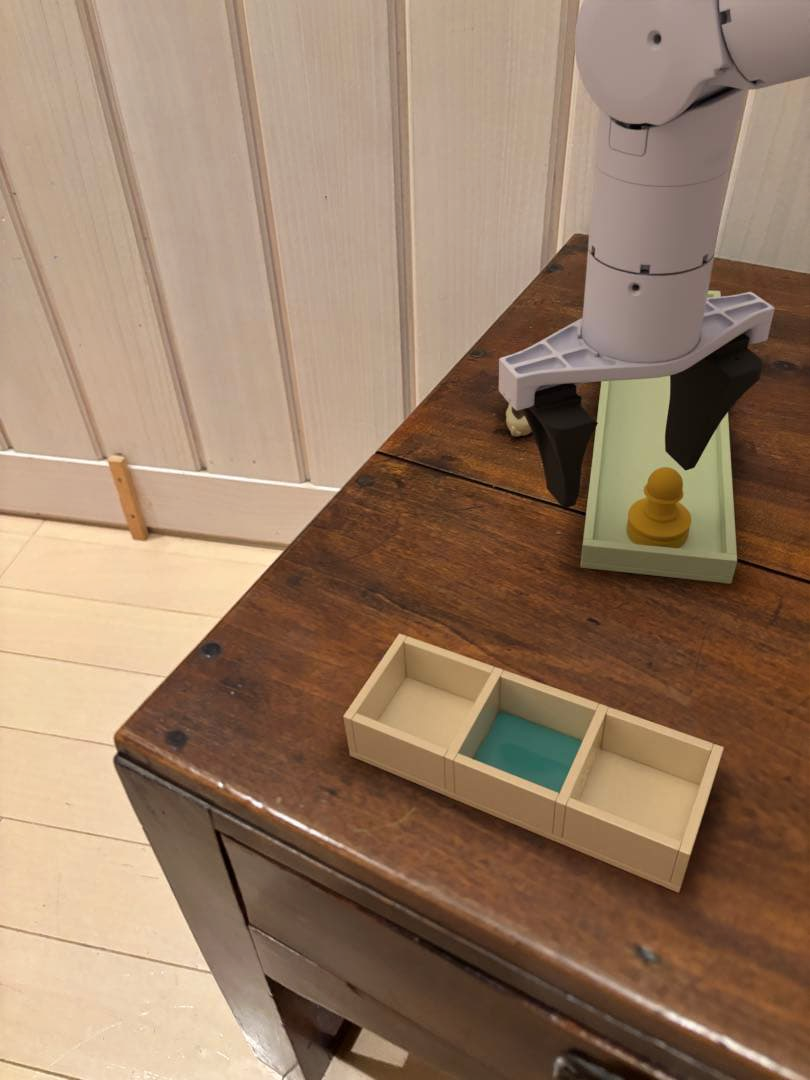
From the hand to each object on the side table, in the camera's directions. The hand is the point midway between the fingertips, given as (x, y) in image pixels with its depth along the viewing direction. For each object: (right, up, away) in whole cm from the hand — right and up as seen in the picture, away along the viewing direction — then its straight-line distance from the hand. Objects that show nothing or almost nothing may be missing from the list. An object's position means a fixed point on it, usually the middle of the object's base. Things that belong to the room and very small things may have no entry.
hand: (621, 477), depth 52 cm
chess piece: (+4, -3, +8) cm, 10 cm away
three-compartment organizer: (-6, -16, -4) cm, 17 cm away
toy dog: (-3, +5, +19) cm, 20 cm away
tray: (+7, +6, +18) cm, 20 cm away
